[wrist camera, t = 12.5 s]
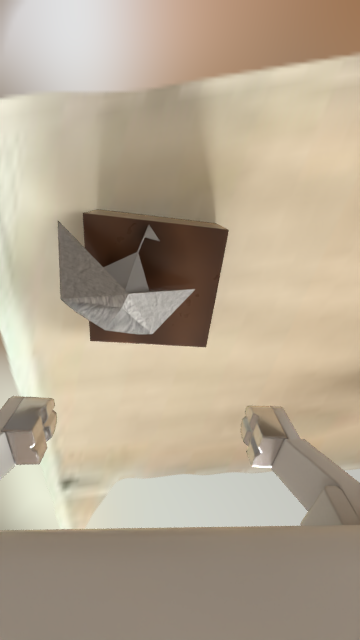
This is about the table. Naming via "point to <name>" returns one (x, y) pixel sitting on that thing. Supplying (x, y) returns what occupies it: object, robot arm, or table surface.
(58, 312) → the table surface
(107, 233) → the walnut block
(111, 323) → the paper boat
